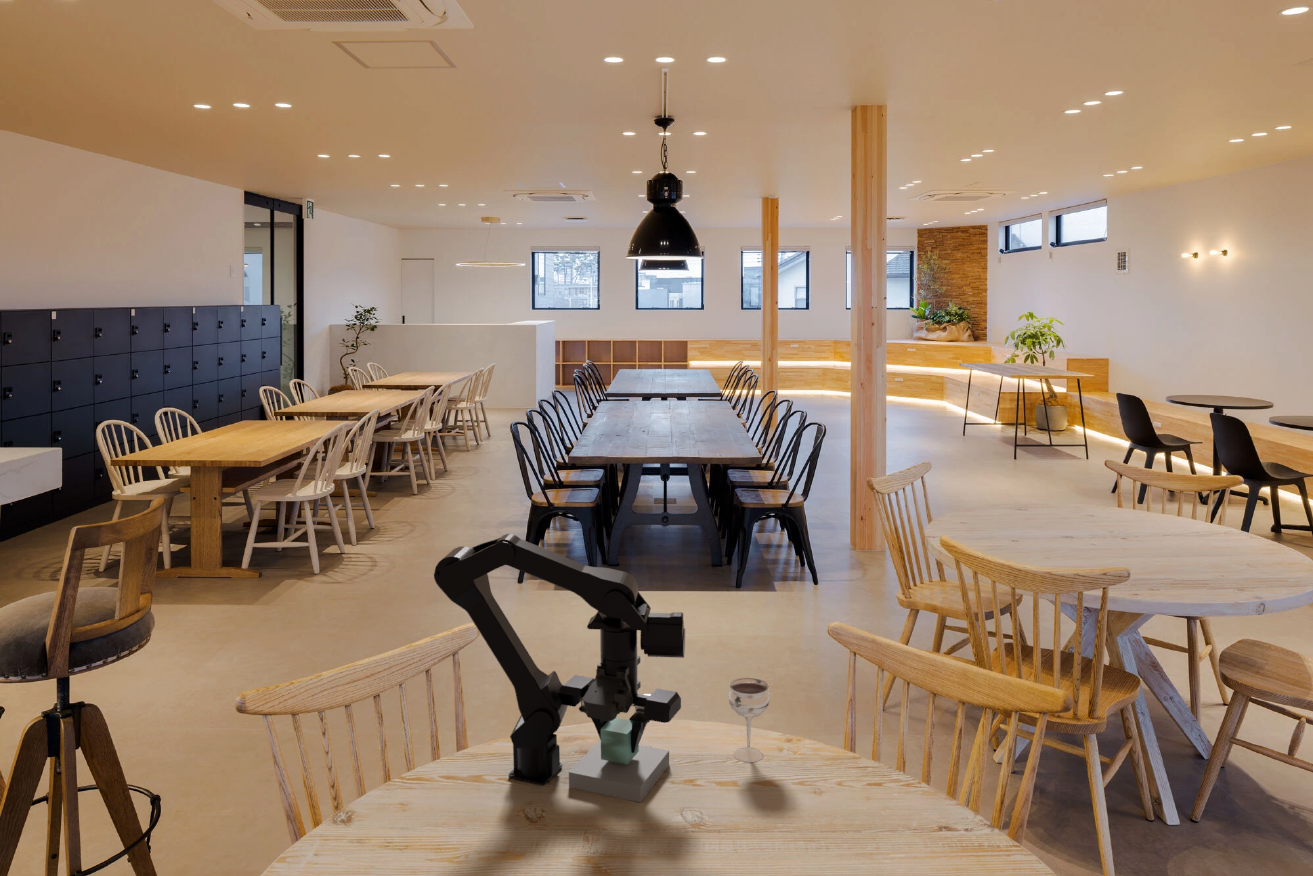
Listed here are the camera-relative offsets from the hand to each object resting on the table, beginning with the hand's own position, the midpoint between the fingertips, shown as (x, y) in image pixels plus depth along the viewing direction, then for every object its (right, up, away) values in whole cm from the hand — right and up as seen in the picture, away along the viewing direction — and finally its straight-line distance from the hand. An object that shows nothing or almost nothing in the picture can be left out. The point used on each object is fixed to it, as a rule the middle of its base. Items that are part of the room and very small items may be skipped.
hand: (619, 749), depth 143 cm
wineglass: (+21, -4, +7) cm, 23 cm away
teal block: (0, -1, 0) cm, 1 cm away
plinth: (0, -4, +1) cm, 4 cm away
